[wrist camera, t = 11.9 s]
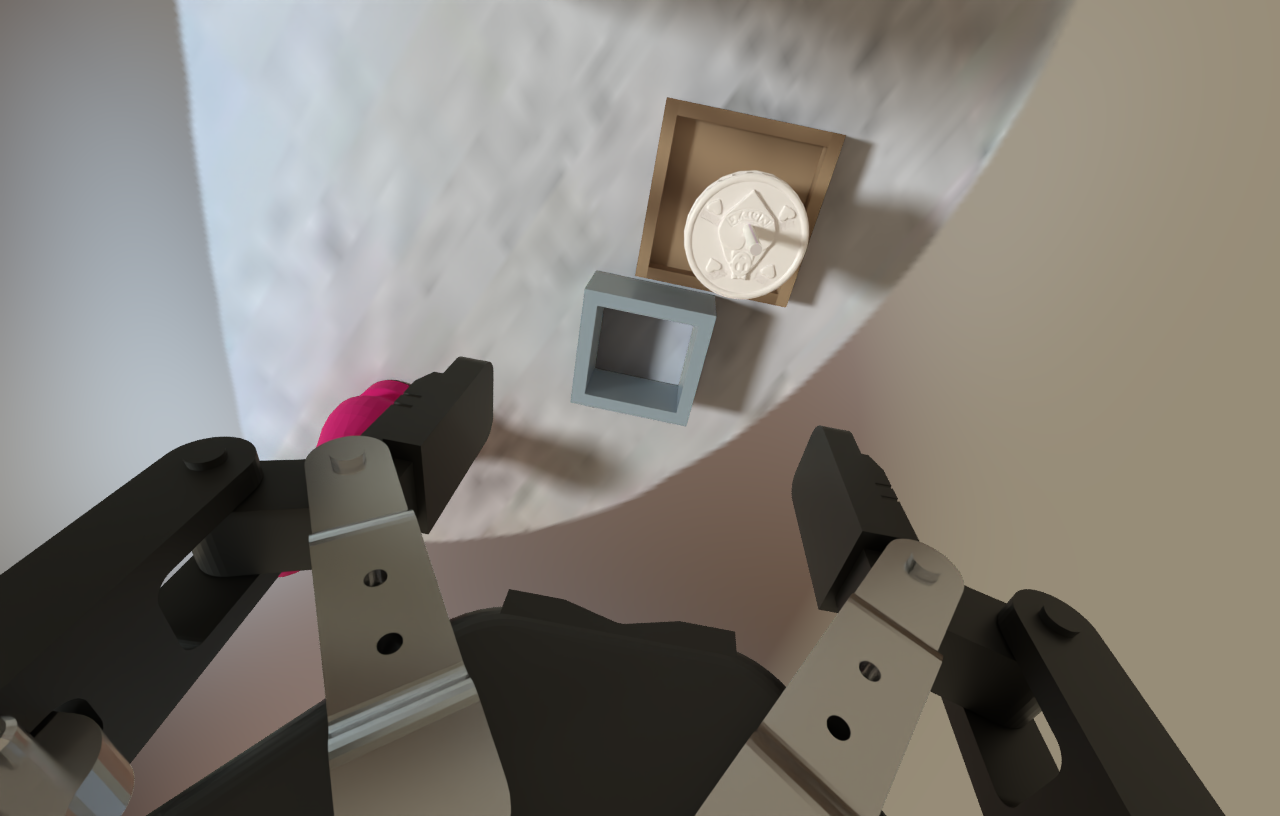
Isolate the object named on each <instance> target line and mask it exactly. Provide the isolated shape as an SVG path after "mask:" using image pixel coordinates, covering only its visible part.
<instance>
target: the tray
mask: <svg viewBox="0 0 1280 816" xmlns="http://www.w3.org/2000/svg"><path fill="white" fill-rule="evenodd" d="M845 137H846V135H842V134H837V133H832V132H828V131H823V130H818V129H814V128H809V127H804V126H800V125H795V124H790V123H785V122H781V121H776V120H771V119H767V118H762V117H757V116H753V115H748V114H743V113H738V112H734V111H729V110H724V109H720V108H715V107H710V106H706V105H701V104H696V103H691V102H687V101H682V100H677V99H673V98H668V97H667V100H666V105H665V111H664V116H663V122H662V128H661V133H660V139H659V145H658V150H657V156H656V161H655V167H654V173H653V178H652V184H651V190H650V195H649V201H648V206H647V212H646V218H645V223H644V229H643V235H642V240H641V246H640V251H639V257H638V263H637V268H636V274H635V276H639V277H643V278H648V279H653V280H658V281H662V282H667V283H672V284H677V285H681V286H686V287H691V288H696V289H701V290H705V291H710V292H713V291H711V290H709V289H708V288H707V287H705V286H704V285H703V284H702V283H701V282H700V281H699V280H698V279H697V277H696V276H695V275H694V273H693V271H692V270H691V267H690V265H689V263H688V260H687V256H686V252H685V248H684V229H685V225H686V221H687V217H688V214H689V212H690V210H691V208H692V206H693V204H694V202H695V201H696V199H697V198H698V197H699V196H700V195H701V193H702V192H703V191H704V190H705V189H706V188H707V187H708V186H709V185H711V184H712V183H714V182H715V181H717V180H718V179H720V178H721V177H723V176H726V175H729V174H732V173H735V172H738V171H751V170H757V171H761V172H766V173H770V174H773V175H775V176H776V177H778V178H780V179H782V180H783V181H785V182H787V183H788V184H789V186H790V187H791V188H792V189H793V190H794V191H795V192H796V193H797V194H798V196H799V198H800V200H801V202H802V203H803V206H804V208H805V210H806V213H807V217H808V223H809V239H808V243H809V240H810V237H811V234H812V231H813V229H814V226H815V223H816V220H817V217H818V214H819V211H820V209H821V206H822V203H823V200H824V197H825V194H826V191H827V188H828V186H829V183H830V180H831V177H832V174H833V171H834V168H835V166H836V163H837V160H838V157H839V154H840V151H841V148H842V145H843V143H844V140H845ZM807 246H808V245H807ZM802 260H803V259H802ZM801 263H802V261H801ZM801 263H800V265H799V267H798V268H797V270H796V271H795V272H794V274H793V275H792V276H791V277H790V278H789V279H788V280H787V281H786V282H785V283H784V284H783V285H781V286H780V287H779V288H777V289H775V290H774V291H772V292H770V293H768V294H765V295H763V296H760V297H756V298H751V299H748V300H753V301H758V302H762V303H767V304H772V305H777V306H781V307H786V306H787V303H788V300H789V297H790V294H791V292H792V289H793V286H794V283H795V280H796V277H797V274H798V272H799V269H800V266H801Z"/></svg>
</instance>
